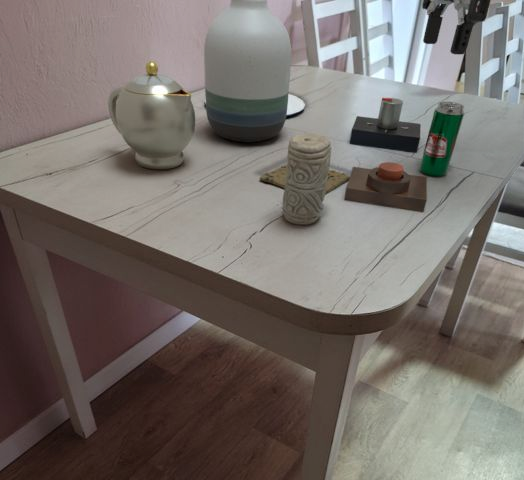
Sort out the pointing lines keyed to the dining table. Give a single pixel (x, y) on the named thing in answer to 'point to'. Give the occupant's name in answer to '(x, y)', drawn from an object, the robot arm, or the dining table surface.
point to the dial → (389, 113)
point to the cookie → (280, 174)
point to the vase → (247, 72)
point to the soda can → (441, 138)
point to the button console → (387, 190)
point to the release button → (390, 171)
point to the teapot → (153, 118)
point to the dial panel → (385, 135)
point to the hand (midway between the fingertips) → (442, 48)
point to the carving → (306, 178)
